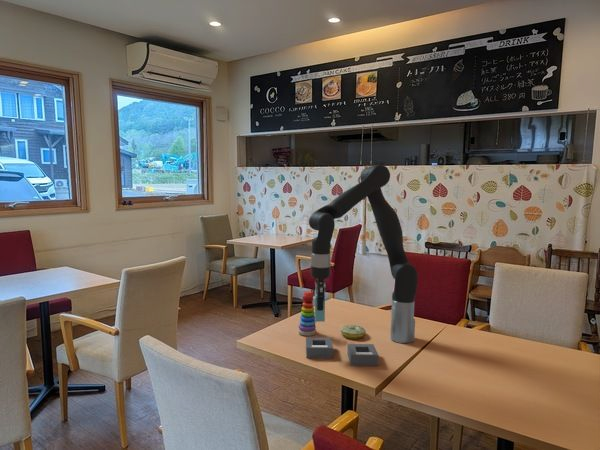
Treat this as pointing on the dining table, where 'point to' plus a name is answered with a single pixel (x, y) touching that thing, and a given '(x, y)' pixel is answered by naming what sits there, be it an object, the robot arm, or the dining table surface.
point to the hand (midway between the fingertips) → (319, 308)
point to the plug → (319, 314)
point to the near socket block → (362, 355)
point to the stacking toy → (307, 316)
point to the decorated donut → (353, 331)
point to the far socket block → (319, 348)
